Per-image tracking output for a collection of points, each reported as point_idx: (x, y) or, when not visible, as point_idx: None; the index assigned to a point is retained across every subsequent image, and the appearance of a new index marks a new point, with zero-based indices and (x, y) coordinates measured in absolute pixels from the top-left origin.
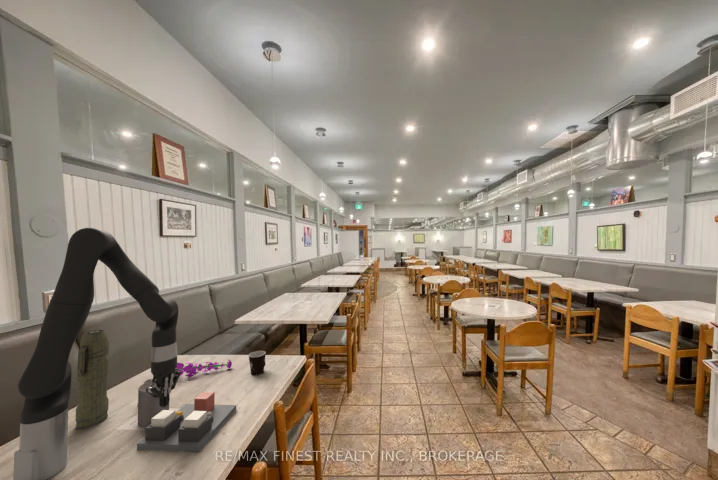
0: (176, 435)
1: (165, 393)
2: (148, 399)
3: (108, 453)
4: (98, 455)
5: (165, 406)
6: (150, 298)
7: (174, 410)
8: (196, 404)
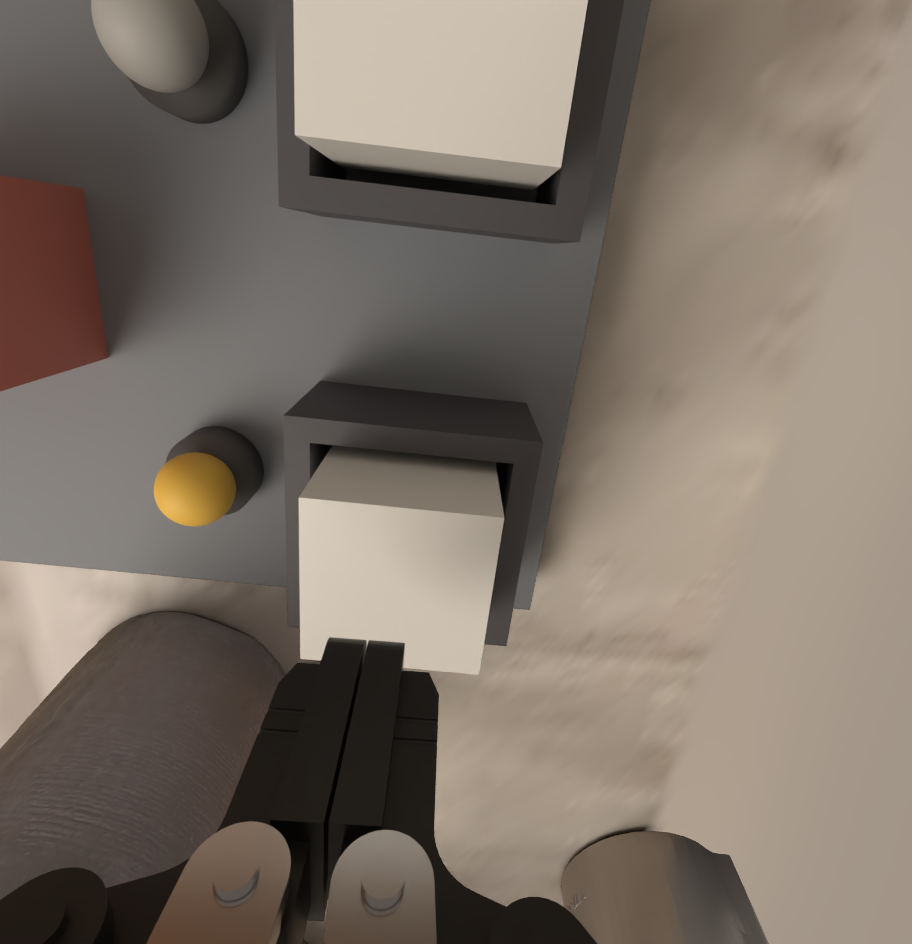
0: (456, 330)
1: (388, 931)
2: None
3: (536, 718)
4: (546, 754)
5: (403, 645)
6: None
7: (303, 507)
8: (11, 350)
